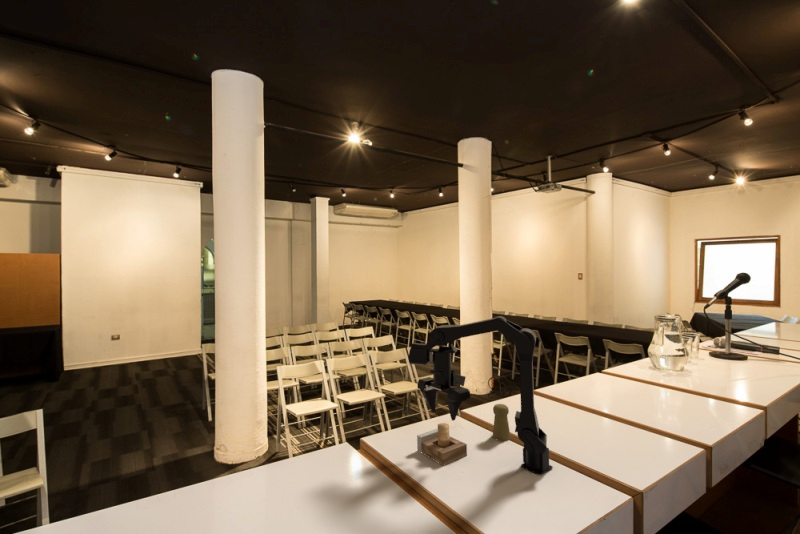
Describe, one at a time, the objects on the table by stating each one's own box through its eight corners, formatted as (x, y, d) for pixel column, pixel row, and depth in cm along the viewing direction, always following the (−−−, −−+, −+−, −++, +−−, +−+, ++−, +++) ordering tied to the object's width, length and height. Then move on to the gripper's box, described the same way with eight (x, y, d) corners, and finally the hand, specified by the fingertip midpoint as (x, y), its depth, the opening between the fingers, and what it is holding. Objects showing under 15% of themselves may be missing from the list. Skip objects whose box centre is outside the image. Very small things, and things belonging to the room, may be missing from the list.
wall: (442, 445, 129) (442, 430, 129) (421, 453, 124) (421, 437, 124) (438, 443, 131) (438, 428, 131) (417, 451, 125) (417, 435, 125)
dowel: (452, 451, 122) (451, 425, 122) (443, 454, 120) (443, 428, 120) (444, 447, 125) (443, 422, 125) (435, 450, 123) (435, 425, 123)
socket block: (466, 455, 121) (466, 444, 122) (443, 465, 116) (442, 453, 116) (444, 444, 130) (444, 433, 130) (421, 453, 124) (421, 442, 124)
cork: (506, 442, 130) (505, 409, 130) (489, 438, 134) (488, 405, 134) (513, 436, 135) (512, 404, 135) (496, 432, 139) (496, 400, 139)
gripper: (482, 367, 120) (483, 418, 120) (441, 357, 135) (442, 402, 135) (456, 373, 114) (457, 427, 114) (415, 362, 129) (416, 410, 129)
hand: (443, 415), depth 123 cm, fingers open, 9 cm apart
